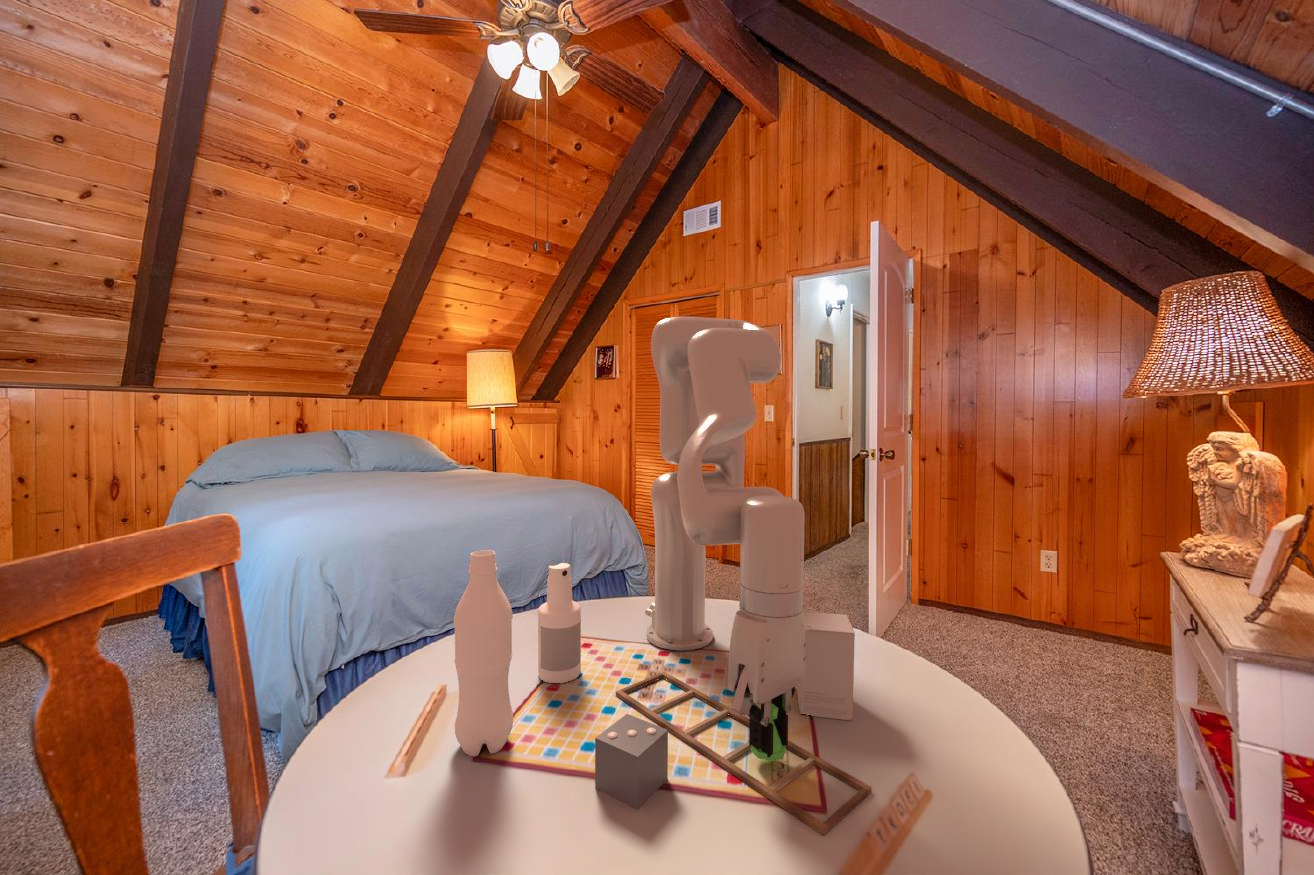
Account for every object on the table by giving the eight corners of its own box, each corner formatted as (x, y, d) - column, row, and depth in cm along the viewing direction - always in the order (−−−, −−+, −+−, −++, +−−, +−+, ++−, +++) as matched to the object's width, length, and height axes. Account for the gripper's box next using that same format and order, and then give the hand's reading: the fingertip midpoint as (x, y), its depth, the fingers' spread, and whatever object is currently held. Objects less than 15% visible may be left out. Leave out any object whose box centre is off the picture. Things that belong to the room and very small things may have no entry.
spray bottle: (551, 689, 84) (551, 574, 83) (530, 673, 89) (530, 564, 88) (588, 675, 88) (588, 566, 87) (566, 660, 93) (566, 557, 93)
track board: (615, 695, 82) (615, 691, 82) (664, 675, 89) (664, 671, 89) (823, 835, 55) (823, 830, 55) (871, 792, 62) (871, 786, 62)
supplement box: (853, 722, 76) (856, 633, 75) (798, 715, 77) (800, 628, 77) (846, 694, 83) (848, 613, 82) (796, 689, 84) (797, 609, 84)
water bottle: (524, 734, 72) (523, 548, 71) (490, 767, 65) (489, 563, 64) (479, 723, 75) (477, 544, 73) (442, 754, 68) (439, 557, 66)
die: (595, 788, 62) (595, 736, 62) (626, 760, 67) (627, 712, 67) (637, 810, 59) (637, 755, 58) (667, 779, 64) (667, 728, 63)
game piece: (747, 738, 69) (748, 692, 68) (782, 740, 69) (783, 693, 68) (752, 760, 64) (753, 711, 64) (789, 761, 64) (790, 712, 64)
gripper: (784, 578, 74) (782, 710, 75) (702, 605, 63) (700, 758, 64) (834, 592, 68) (831, 735, 69) (752, 624, 58) (750, 792, 59)
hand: (768, 745), depth 67 cm, fingers closed on game piece, 2 cm apart
